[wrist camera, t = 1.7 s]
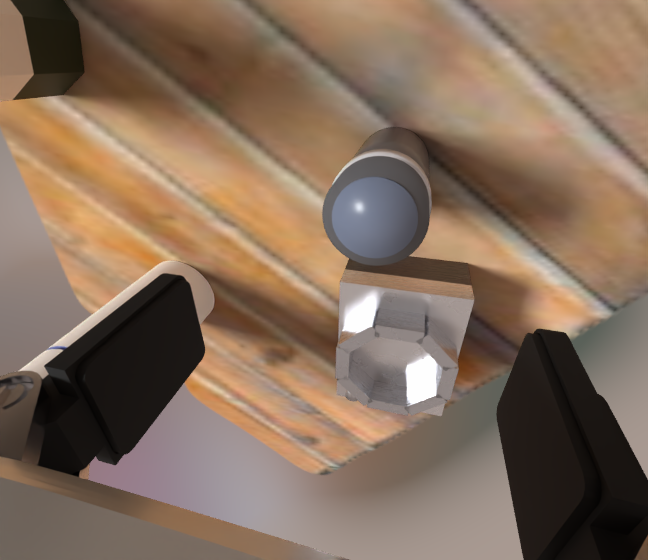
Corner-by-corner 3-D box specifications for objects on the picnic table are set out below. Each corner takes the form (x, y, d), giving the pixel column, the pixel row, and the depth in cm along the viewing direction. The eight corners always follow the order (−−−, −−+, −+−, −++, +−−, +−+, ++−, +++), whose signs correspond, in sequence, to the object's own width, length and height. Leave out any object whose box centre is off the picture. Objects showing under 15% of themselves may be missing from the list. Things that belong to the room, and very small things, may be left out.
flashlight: (357, 123, 24) (319, 159, 15) (436, 127, 23) (441, 167, 14) (353, 198, 27) (319, 262, 18) (424, 204, 26) (422, 275, 17)
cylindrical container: (218, 276, 34) (-99, 607, 14) (211, 327, 38) (-41, 639, 18) (151, 250, 34) (-257, 533, 14) (151, 303, 38) (-163, 582, 18)
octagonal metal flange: (352, 250, 29) (333, 297, 23) (467, 263, 27) (478, 318, 21) (347, 355, 35) (331, 413, 30) (439, 372, 33) (442, 437, 28)
